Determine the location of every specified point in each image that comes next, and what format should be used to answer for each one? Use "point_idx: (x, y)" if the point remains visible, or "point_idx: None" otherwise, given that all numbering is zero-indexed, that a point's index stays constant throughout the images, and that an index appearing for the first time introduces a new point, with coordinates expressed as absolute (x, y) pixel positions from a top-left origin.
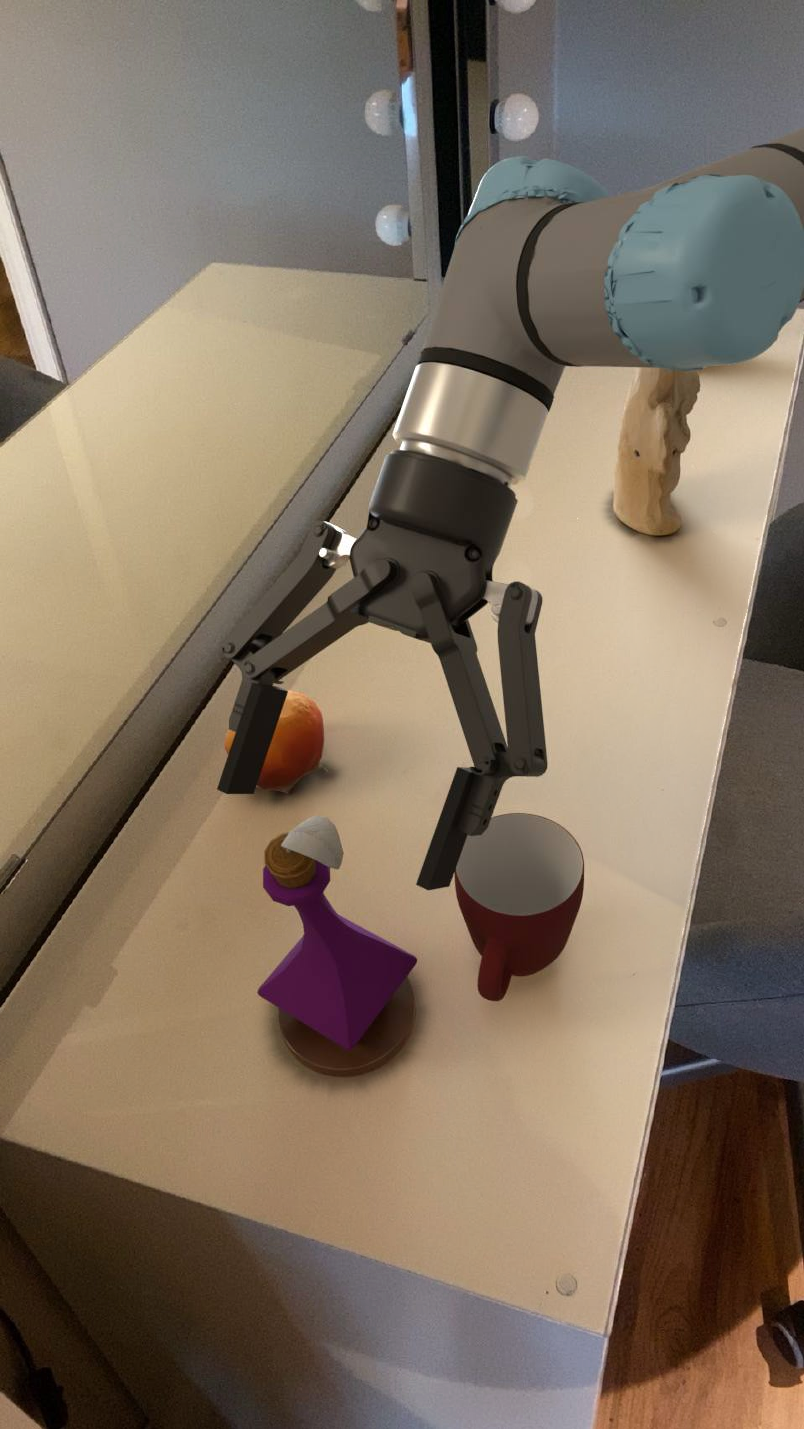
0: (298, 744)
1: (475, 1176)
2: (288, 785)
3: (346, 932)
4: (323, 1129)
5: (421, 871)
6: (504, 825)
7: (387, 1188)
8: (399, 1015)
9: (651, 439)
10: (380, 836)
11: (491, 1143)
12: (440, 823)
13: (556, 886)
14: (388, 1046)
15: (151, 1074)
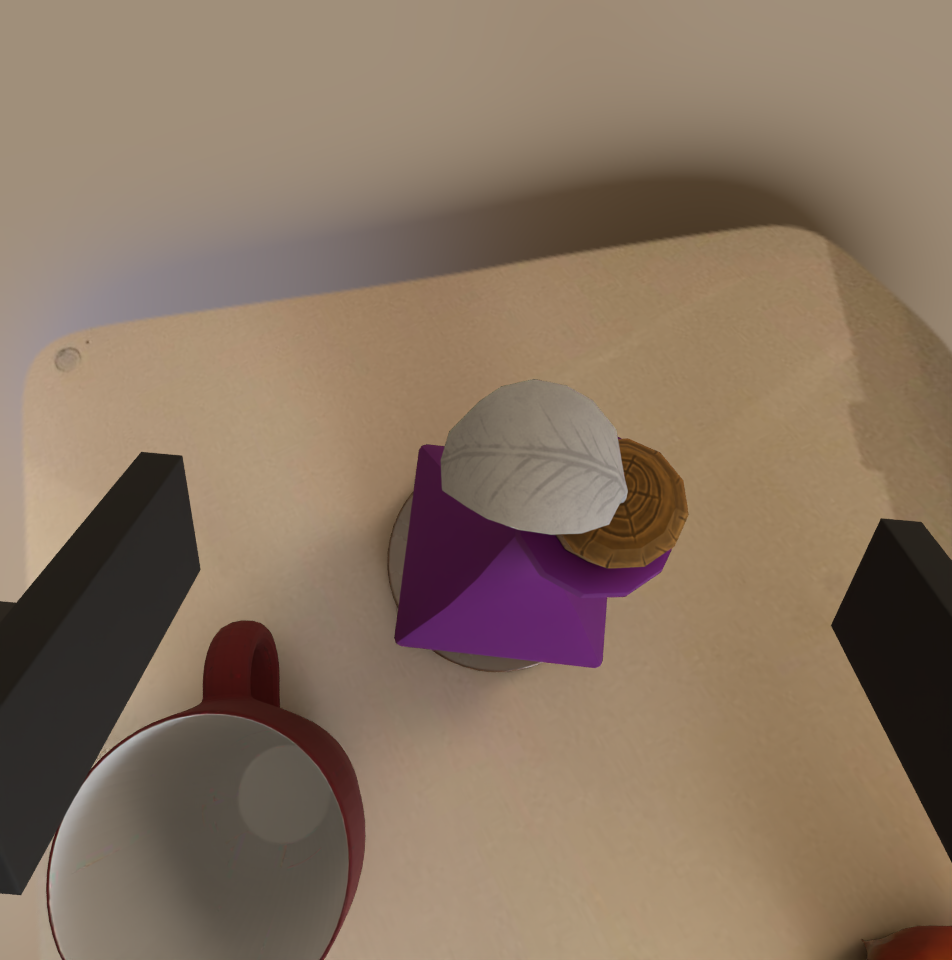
0: None
1: (218, 426)
2: (873, 953)
3: (483, 548)
4: (436, 393)
5: (163, 478)
6: None
7: (320, 364)
8: None
9: None
10: (635, 925)
11: (214, 474)
12: (80, 579)
13: (206, 917)
14: (402, 526)
15: (700, 357)
